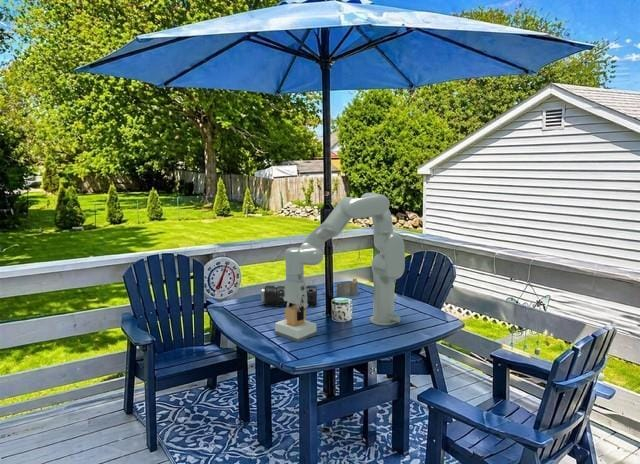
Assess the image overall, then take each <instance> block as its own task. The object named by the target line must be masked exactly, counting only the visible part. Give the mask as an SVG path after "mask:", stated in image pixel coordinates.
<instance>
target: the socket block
mask: <svg viewBox="0 0 640 464" xmlns="http://www.w3.org/2000/svg"><path fill="white" fill-rule="evenodd" d="M304 322H305V323H303V324H300V325H298V326H295V327H293V326H291V325H288V324H287V320H285V319H281V320H279V321H277V322H275V323H274V328H275V329H274V330H275V331H274V334H275V335H277V336H280V337H282V338H285V339H288V340H290V341H294V342H295V343H300V342H302V340H303V341H305V340H308V339H310V338H312V337H315V336H316V334H317V323H316V322H312V321H310V320H306V319H304ZM314 335H315V336H314ZM309 337H310V338H309ZM307 338H308V339H307Z"/></svg>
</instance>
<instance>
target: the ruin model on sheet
mask: <svg viewBox="0 0 640 464" xmlns="http://www.w3.org/2000/svg"><path fill="white" fill-rule="evenodd" d="M358 296H359V282H358V278H352V281H347V282H346V281H345V282H343V281H342V282H340V283H338V282H336V297H338V298H339V297H358Z"/></svg>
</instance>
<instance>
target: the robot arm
mask: <svg viewBox="0 0 640 464" xmlns="http://www.w3.org/2000/svg"><path fill="white" fill-rule="evenodd" d="M390 206H391V205H390V200H389V198H388V197H387V196H386V195H384V194H381V193H375V192H365V193H363V194H362V195H361V197H360V198H359V197H358V198H356V197H350V196H346V197H343V198H341V199H340V200H339V201H338V203H337V204H336V205H335V207H334V208H333V209H332V211H331V212H330V213H329V214H328V216H327V217H326V219H324V221H323V222H322V223H321V224H319V225H318V226H317V227H316V228H315V229H314V230H312V231H311V232H310V233H309V234H308V235H307V237H306V238H305V239H304V241H303V242H302V243H301V245H300V247H289V248H287V249H285V251H284V252H285V253H284V255H285V256H284V257H285V258H284V259H285V282H284V286H285V296H284V297H283V299H284V301H285V303H286V304H285V305H286V307H285V308H287V307H291V306H294V305H293V304H295V305H297V309H298V312H297V321H300V320H303V319H304V310H305V309H306V310H307V308H308V307H309V305H308V303H307V289H306V286H307V285H306V281H305V275H304V269H305V268H304V266H317V265H319V264H320V263H322V261H323V260H324V253H323V252H322V250H321V249H320V247H321V246H322V245H323V244H324V243H325V242H326V241H328V240H331V239H333V238H336V237H337V236H339V235H340V234H341V233H342V232H343V231H344V229H345V227H347V225H348V223H350V221H351V220H352V219H355V220H356V219H357V220H359V219H364V218H371V219H372V226H373V245H374V248H375V249H377V250H378V251H380V253H377V254H376V255H375V256H374V257H373V258H372V261H371V270H372V271H371V272H372V276H373V277H372V279H373V287H372V288H373V291H372V292H373V293H372V294H373V297H372V298H373V299H372V307H373V309H372V315H371V316H370V317H369V322H370V323H371V324H373V325H377V326H378V325H379V326H392V325H396V324H397V323H400V322H401V319H402V318H401V316H399V315H397V312H396V311H395V290H396V289H395V280H398V279H400V278H401V277H402V276H403V274H404V273H405V268H406V267H405V266H406V257H405V255H406V254H405V252H406V251H405V242H404V239H403V237H402V236H401V235H400V234H399V233H396V232H394V226H393V218H392V216H393V215H392V213H391V210H390V209H389V208H390ZM300 302H301V304H300ZM300 306H301V308H300ZM304 320H305V319H304Z"/></svg>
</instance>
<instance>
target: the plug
mask: <svg viewBox="0 0 640 464" xmlns="http://www.w3.org/2000/svg"><path fill="white" fill-rule="evenodd" d="M300 308H301V305H300ZM297 312H298V309H297V305H293V306H291V307H284V318H285V320H287V324H288V325H291V326H293V327H295V326H298V325H300V324H303V323H305V322H304V320H306V319H307V308H306V309H305V310H304V319H303V320H300V321H297Z"/></svg>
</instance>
